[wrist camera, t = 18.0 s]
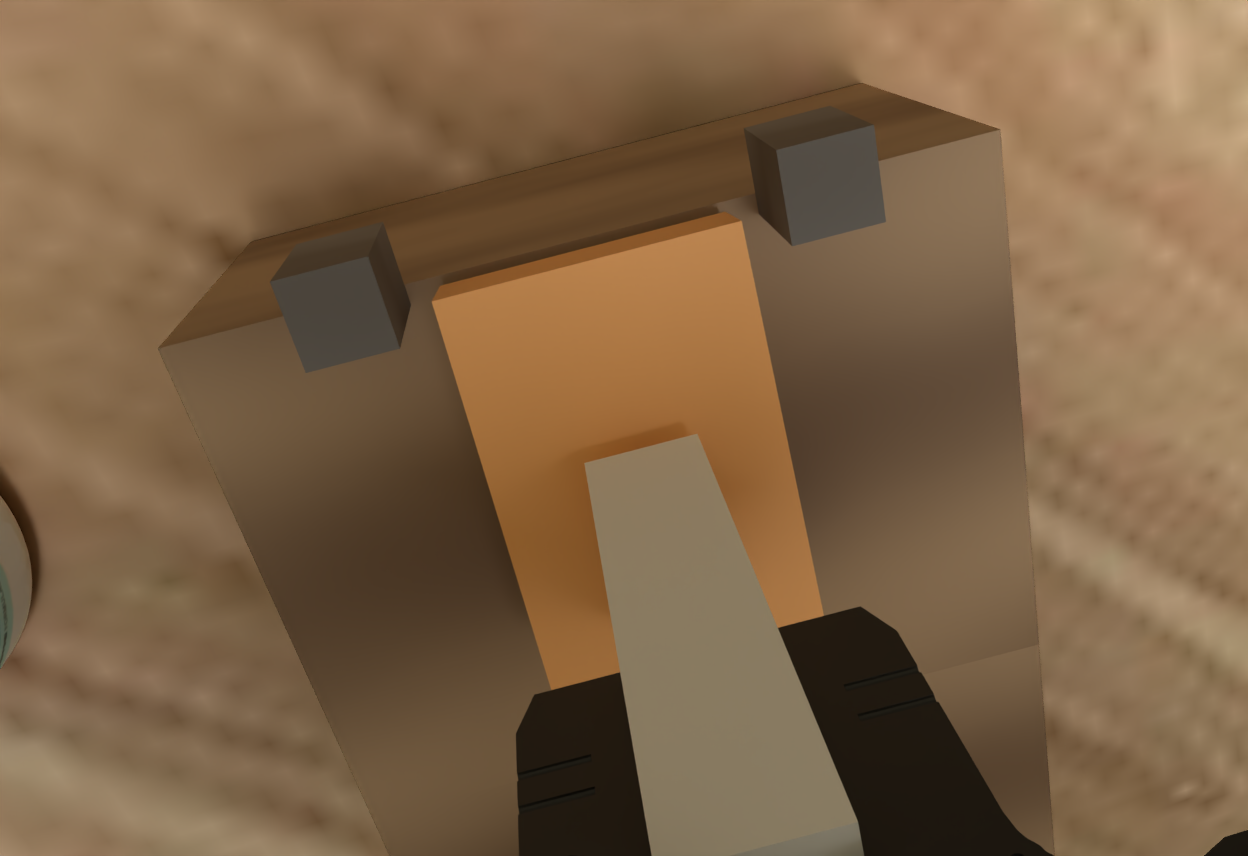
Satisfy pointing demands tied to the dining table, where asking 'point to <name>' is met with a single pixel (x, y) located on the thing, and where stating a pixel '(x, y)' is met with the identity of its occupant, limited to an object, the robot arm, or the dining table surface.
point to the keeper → (622, 413)
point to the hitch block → (809, 399)
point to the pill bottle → (12, 582)
